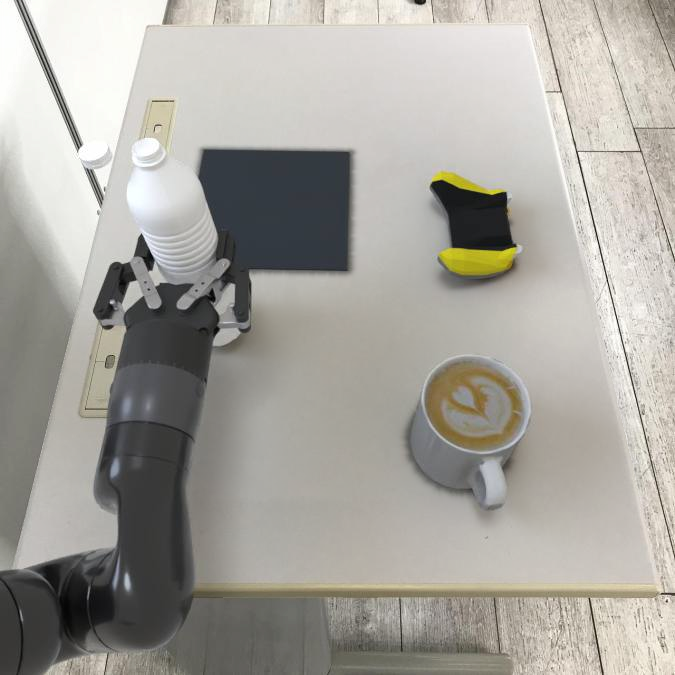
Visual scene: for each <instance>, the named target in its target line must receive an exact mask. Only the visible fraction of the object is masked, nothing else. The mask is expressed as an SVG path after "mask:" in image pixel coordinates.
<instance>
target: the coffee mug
mask: <svg viewBox="0 0 675 675" xmlns="http://www.w3.org/2000/svg"><path fill="white" fill-rule="evenodd" d="M531 419H532V400H531V396H530V393H529V391H528V388H527V386H526V385H525V383H524V381H523V380H522V378H521V377H520V376H519V375H518V374H517V373H516V372H515V370H513V369H512V368H511V367H510V366H508V365H507V364H505V363H504V362H502V361H500V360H498V359H496V358H493V357H490V356H487V355H482V354H478V353H465V354H459V355H454V356H451V357H448V358H446V359H445V360H442V361H441V362H439V363H438V364H437V365H436V366H435V367H433V368H432V370H431V371H430V372H429V373H428V375H427V376H426V378H425V380H424V382H423V385H422V388H421V391H420V395H419V399H418V403H417V406H416V411H415V414H414V418H413V421H412V424H411V429H410V436H409V438H410V439H409V443H410V449H411V453H412V456H413V458H414V461H415V462H416V464H417V465H418V467H419V469H420V470H421V471H422V472H423V473H424V474H425V475H426V476H427V477H428V478H430V479H431V480H432V481H434V482H436V483H438V484H439V485H441V486H444V487H447V488H450V489H456V490H470V489H472V492H473V494H474V498H475V500H476V502H477V504H478V506H479V507H480V509H482V510H483V511H487V512H489V511H490V512H491V511H492V512H493V511H496V510H499V509H501V508H503V506H504V505H505V503H506V500H507V499H508V498H507V497H508V496H507V495H508V488H507V487H508V486H507V482H506V476H505V473H504V471H503V467H504V465H505V464H506V462H507V461H508V460H509V458H510V457H511V455H512V453H513V452H514V450H515V449H516V447H518V445H519V444H520V442H521V440H522V438H523V437H524V436H525V434H526V433H527V430H528V428H529V426H530V423H531Z"/></svg>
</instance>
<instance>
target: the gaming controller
mask: <svg viewBox="0 0 675 675" xmlns="http://www.w3.org/2000/svg"><path fill="white" fill-rule="evenodd" d="M429 190H430V192H431V194H432V196H434V198H435V200H436V201H437V203H438V204H439V206H440V207H441V208H442V211H443V212H444V214H445V216H446V219H447V224H448V233H449V240H450V247H449V248H447V249H444V250H442V251H440V252H439V253H438V254H437V258H436V260H437V262H438V264H439V265H440V266H441V268H443V269H444V270H445V271H446V272H447V273H448V274H449V275H451V276H453V277H456V278H458V279H461V280H480V279H482V280H483V279H485V280H486V279H490V278H493V277H496V276H501V275H502V274H503V275H504V273H506V272H507V271H508V270H510V269H511V268H512V266H513V263H514V260H515V258H517V256H518V255H520V254H521V253H522V250H523V245H521V244H517V243H514V242H513V236H512V231H511V226H510V220H509V216H510V212H511V211H510V209H509V208H508V206H509V204H510V203H511V200H512V199H513V194H512V192H510V191H507V190H505V189H502V188H501V189H487V188H484V187H482V186H480V185H478V184H477V183H474V182H472V181H470V180H469V179H466V178H465V177H463V176H461V175H459V174H456V173H455V172H453V171H452V172H451V171H443V170H440V171H439V172H438V173H436V174H435V175H433V177H432V180H431V182H430V185H429Z"/></svg>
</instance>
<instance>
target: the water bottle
mask: <svg viewBox="0 0 675 675" xmlns="http://www.w3.org/2000/svg"><path fill="white" fill-rule="evenodd" d="M166 152H167V151H166V148H165V147H164V146H162V145H161V143H160V142H159V140H158V139H156V138H153V137H145V138H142V139H139V140H138V141H135V143H133V145H132V147H131V154H132V158H131V159H132V162H133V164H134V167H133V170H132V172H131V175H130V177H129V180H128V183H127V188H126V201H127V205H128V208H129V210H130V213H131V215H132V216H133V219H134V220H135V222H136V224H137V226H138V228H139V230H140V232H141V233H142V235H143V236H144V239H145V241H146V243H147V245H148V247H149V249H150V251H151V253H152V255H153V257H154V259H155V264H156V266H157V269H158V272H159V273H160V274H161V277H162V279H163V282H164V283H171V284H175V285H179V284H184V283H194V284H195V283H196V282H197V281H198V279H199V278H200V277H201V276H202V275H203V274H204V273H208V272H209V271H210V270H211V269H212V268H213V266H214V265H215V264H216V263H217V261H216V252H217V246H218V240H219V238H218V234H217V232H216V228H215V226H214V222H213V220H212V216H211V214H210V210H209V208H208V204H207V202H206V199H205V195H204V191H203V188H202V185H201V183H200V181H199V179H198V177H199V176H198V175H197V174H196V173H195V172H194V171H193V170H192V168H190V167H189V166H188V165H187V164H185V163H183V162H181V161H180V160H177V159H176V158H174V157H172V156H170V155H169V154H167V153H166ZM77 155H78V158H79V160H80V162H81V164H82V166H83V167H84V168H86V169H89V170H98V169H102V168H105V167H106V166H107V165H109V164H110V163H111V162H112V159H113V153H112V151H111V149H110V146H109V144H108V143H107V142H106V141H103V140H97V139H95V140H90V141H88V142H86V143H84V144H82V146H81V147H80V148H79V150H78V152H77ZM231 302H234V303H235V284H232V283H231V284H230V285H229V287H228V288H227V289H226V290H225V291H224V293H223V294H222V298H221V300H220V302H219V303H218V304H217V305H216V306H215V309H216V311H217V312H218V314H219V315H221V314H224V313H225V312H226V310H227V307H228V306H229V304H230V303H231ZM241 334H242V333H241V332H240V331H239V330H238V328H226V329H220V331H219V332H218V333H217V335H216V336H215V338H214V340H213V346H212V348H213V347H222V346H225V345H227V344H230V343H231V342H232V341H234V340H235V339H237V338H238V337H239V336H240V335H241Z"/></svg>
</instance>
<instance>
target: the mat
mask: <svg viewBox="0 0 675 675" xmlns="http://www.w3.org/2000/svg"><path fill="white" fill-rule="evenodd" d="M202 150H203V151H202V156H201V161H200V162H201V163H200V166H199V174H198V176H197V177H198V179H199V181H200V183H201V185H202V188H203V191H204V195H205V199H206V202H207V204H208V208H209V210H210V214H211V216H212V220H213V222H214V226H215V228H216V232H217V234H218V238H219V233H220V229H227V230H228V231H229V235H233V237H234V241H235V245H236V253H235V260H234V264H235V265H237V266H238V265H241V264H244V265H247V266H248V268H249V270H285V271H286V270H287V271H288V270H290V271H335V272H336V271H337V272H338V271H339V272H342V271H344V272H345V271H348V242H349V241H348V240H349V238H348V237H349V194H350V193H349V191H350V186H349V185H350V151H341V150H340V151H339V150H338V151H336V150H335V151H333V150H331V151H330V150H323V151H322V150H276V149H275V150H274V149H273V150H271V149H208V148H205V149H202Z"/></svg>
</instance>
